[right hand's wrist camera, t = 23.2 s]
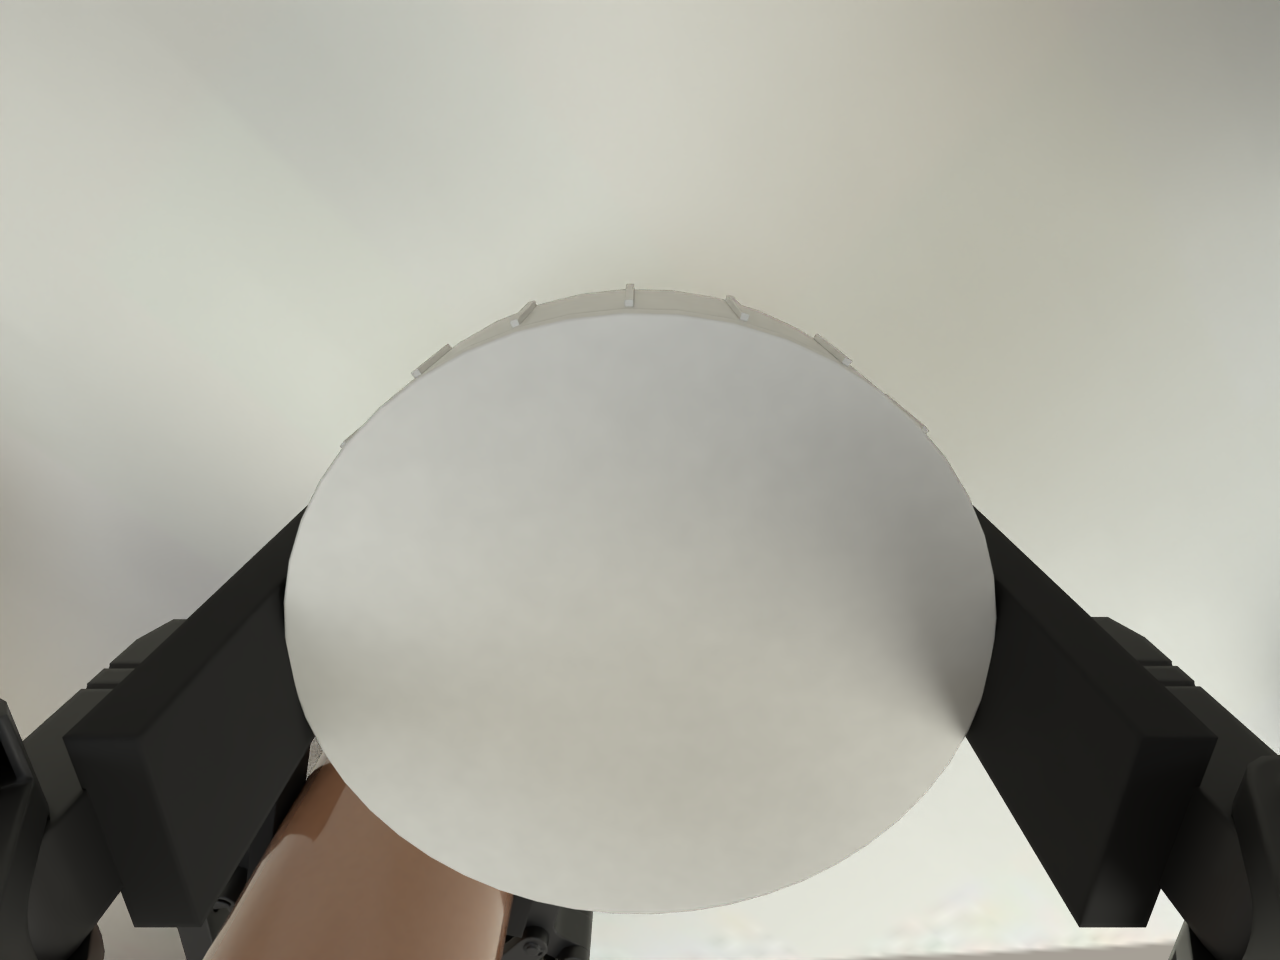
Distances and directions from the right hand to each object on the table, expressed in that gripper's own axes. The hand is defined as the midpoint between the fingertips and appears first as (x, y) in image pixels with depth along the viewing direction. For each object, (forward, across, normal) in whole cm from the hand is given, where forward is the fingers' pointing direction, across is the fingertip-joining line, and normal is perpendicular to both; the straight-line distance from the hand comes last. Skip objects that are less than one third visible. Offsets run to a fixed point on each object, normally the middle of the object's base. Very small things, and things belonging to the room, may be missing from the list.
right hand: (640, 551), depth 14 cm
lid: (-3, 0, 0) cm, 3 cm away
